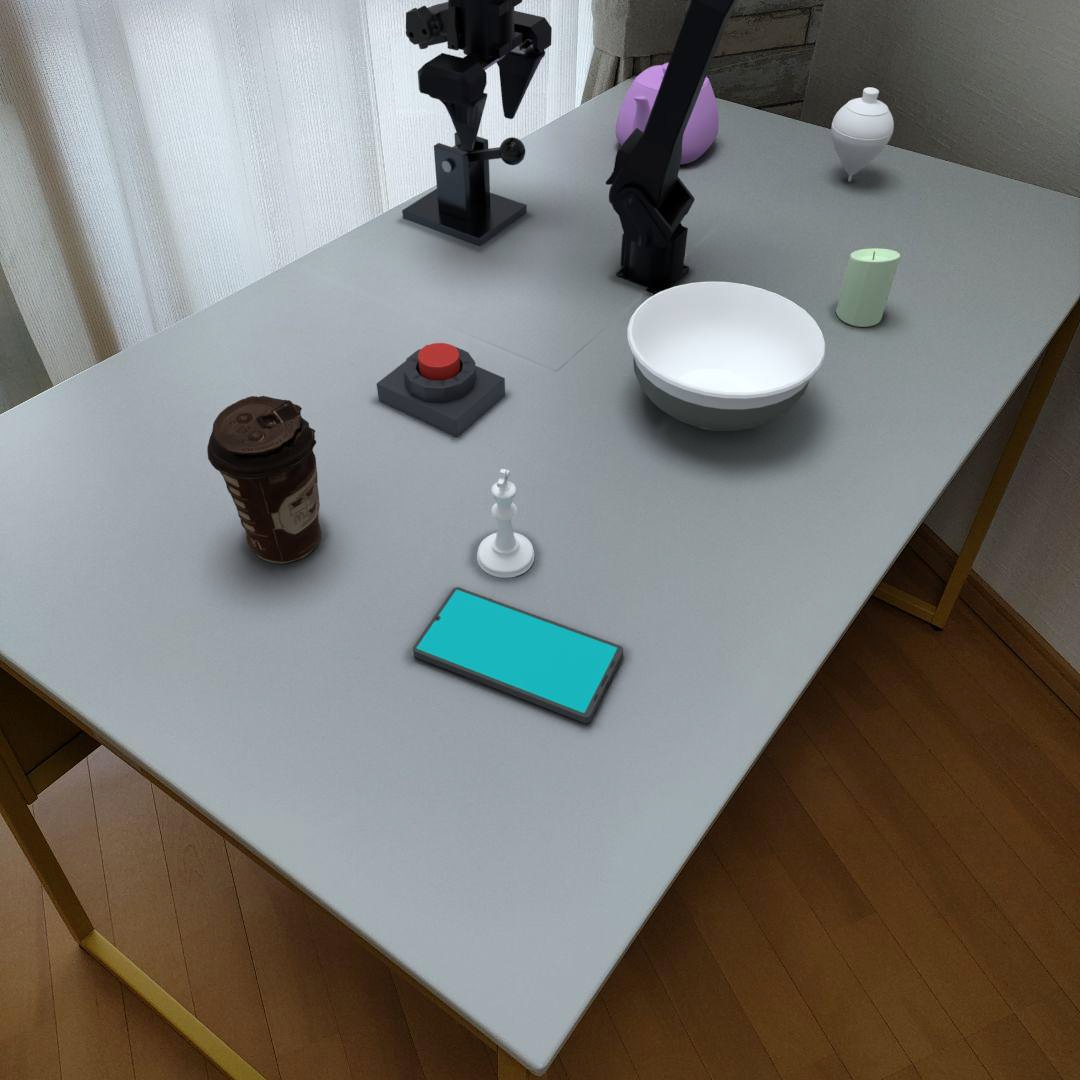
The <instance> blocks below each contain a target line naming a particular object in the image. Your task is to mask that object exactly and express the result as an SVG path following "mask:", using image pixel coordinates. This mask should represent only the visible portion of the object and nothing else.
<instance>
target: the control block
mask: <svg viewBox="0 0 1080 1080" xmlns="http://www.w3.org/2000/svg"><path fill="white" fill-rule="evenodd" d="M427 345H428V344H425V345H424V346H423V347H425V346H427ZM453 346H454V345H453ZM454 347H455V348H456V349H457V350H458V352H459V359H460V371H459V373H458V374H457V375H456V376H455V377H453V378H449V379H446V380H429V379H427V378H424V377H423V376H422V375H421V374H420V371H419V362H418V353H419V351H420V350H421V349H422V348H419V349H417V350H416V351H414V352H413V353H412V354H410V355H409V356H408V357H406V359H405V361H403V363H401V364H400V365H398V366H397V367H396V368H395V369H393V370H392V371H391V372H390V373H388V374H387V375H386V376H384V377H383V378H382V379H380V380H379V381H378V382H376V390H377V397H378V402H381V403H383V404H385V405H386V406H390V407H391V408H393V409H395V410H397V411H400V412H402V413H404V414H407V415H408V416H410V417H412V418H415V419H417V420H419V421H421V422H423V423H425V424H427V425H430V426H432V427H434V428H436V429H439V430H441V431H443V432H445V433H447V434H449V435H451V436H453V437H456V438H458V437H459V436H461V435H462V434H463V433H465V431H466V430H468V428H470V427H471V426H472V425H474V423H475V422H476V421H478V420H479V419H480V418H481V417H482V416H483V415H484V414H486V413H487V412H488V411H489V410H491V408H492V407H494V406H495V405H496V404H497V403H499V401H501V400H502V399H503V398H504V397H505V396H506V378H505V377H503V376H501V375H499V374H496V373H494V372H492V371H489V370H487V369H484V368H483V367H480V366H478V365H476V361H475V360H474V358H473V357H472V355H471V354H470V353H469V352H468V351H467V350H464V349H462V348H459V347H457V346H454Z"/></svg>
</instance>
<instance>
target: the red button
mask: <svg viewBox="0 0 1080 1080" xmlns="http://www.w3.org/2000/svg"><path fill="white" fill-rule="evenodd" d="M426 345H427V346H426ZM426 345H424V346H425V347H424V346H423V347H422V348H420V349H421V350H420V351H419V353H418V362H419V371H420V374H421V375H422V376H423V377H424V378H427V379H429V380H446V379H449V378H453V377H455V376H456V375H457V374H458V373H459V371H460V359H459V352H458V350H457V349H456V348H455V347H456V346H455V347H454V345H452V344H450V343H445V342H434V343H429V344H426Z"/></svg>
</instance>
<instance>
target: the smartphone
mask: <svg viewBox="0 0 1080 1080" xmlns="http://www.w3.org/2000/svg"><path fill="white" fill-rule="evenodd" d="M412 652H413V656H414V658H417V659H419V660H421V661H425V662H427V663H429V664H432V665H435V666H437V667H440V668H442V669H445V670H447V671H450V672H453V673H455V674H457V675H460V676H462V677H465V678H467V679H471V680H472V681H476V682H477V683H481V684H484V685H486V686H489V687H491V688H494V689H496V690H498V691H501V692H504V693H506V694H509V695H511V696H514V697H517V698H519V699H522V700H525V701H526V702H529V703H532V704H534V705H537V706H540V707H542V708H545V709H548V710H550V711H552V712H555V713H557V714H560V715H563V716H566V717H567V718H570V719H574V720H576V721H578V722H581V723H583V724H588V723H590V722H591V720H592V718H593V717H594V714H595V713H596V710H597V708H598V706H599V705H600V702H601V701H602V698H603V697H604V694H605V692H606V690H607V688H608V686H609V684H610V682H611V681H612V679H613V676H614V675H615V673H616V670H617V668H618V667H619V664H620V662H621V661H622V658H623V656H624V648H623V646H622V645H620V644H616V643H614V642H611V641H608V640H605V639H603V638H599V637H597V636H594V635H592V634H589V633H586V632H583V631H581V630H577V629H576V628H573V627H569V626H566V625H564V624H562V623H558V622H556V621H552V620H550V619H547V618H545V617H542V616H538V615H536V614H534V613H530V612H528V611H526V610H522V609H519V608H518V607H514V606H511V605H509V604H506V603H503V602H501V601H497V600H494V599H492V598H489V597H487V596H484V595H481V594H478V593H476V592H473V591H470V590H468V589H465V588H462V587H454V588H452V590H451V591H450V593H449V594H448V596H447V597H446V599H445V600H444V602H442V604H441V606H440V608H438V610H437V611H436V613H435V615H434V616H433V617H432V619H430V622H428V625H427V626H426V628H425V629H424V630H423V632H422V634H421V635H420V636H419V637H418V639H417V640H416V642H415V643H414V646H413V647H412Z"/></svg>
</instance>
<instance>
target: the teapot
mask: <svg viewBox="0 0 1080 1080" xmlns="http://www.w3.org/2000/svg"><path fill="white" fill-rule="evenodd" d="M668 63H669V62H665V63H663V64H657V65H652V66H649V67H648V68H646V69H644V70H643V71H642V72H641V73H639V74H637V76H635V78H634V80H633V82H632V83H631V85H630V87H629V89H628V90H627V92H626V94H625V96H624V98H623V100H622V103H621V105H620V107H619V109H618V114H617V118H616V124H615V130H614V131H615V132H614V133H615V136H616V139H617V141H618V143H619V145H620V147H621V146H622V144H623V143H624V142H625V141H626V139H627V138H628V137H629V136H630V135H631V133H632V132H633V131H634V130H635V128H638V129H639V130H641V131H642V132H644V130H645V127H646V124H647V121H648V118H649V116H650V113H651V110H652V107H653V105H654V102H655V99H656V96H657V94H658V91H659V88H660V85H661V83H662V80H663V77H664V74H665V72H666V69H667V66H668ZM718 133H719V109H718V104H717V99H716V95H715V92H714V89H713V87H712V84H711V82H710V79H709V78H708V76H706V78H705V81H704V83H703V86H702V88H701V91H700V93H699V96H698V98H697V101H696V103H695V106H694V108H693V111H692V114H691V116H690V119H689V121H688V124H687V126H686V129H685V131H684V134H683V139H682V158H681V163H680V165H686V164H690V163H693V162H695V161H696V160H698V159H699V158H700V157H702V155H704V154H705V153H706V152H707V151H708V149H709V148H710V147H711V145H712V144H713V143H714V142H715V140H716V138H717V136H718Z"/></svg>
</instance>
